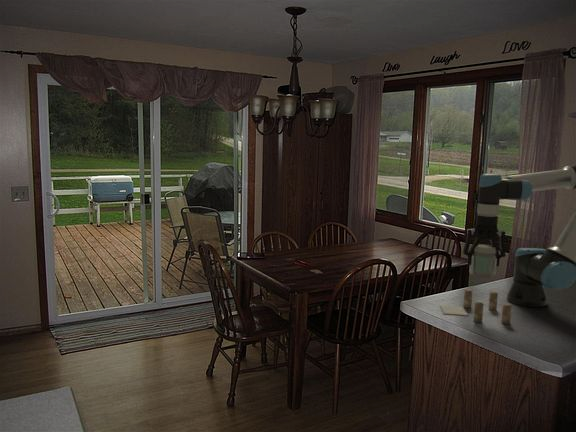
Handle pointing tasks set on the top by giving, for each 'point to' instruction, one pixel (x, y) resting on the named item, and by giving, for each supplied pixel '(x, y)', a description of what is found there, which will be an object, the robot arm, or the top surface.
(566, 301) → the top surface
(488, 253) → the coffee cup
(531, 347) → the top surface
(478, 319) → the spacer posts
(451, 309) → the felt mat
